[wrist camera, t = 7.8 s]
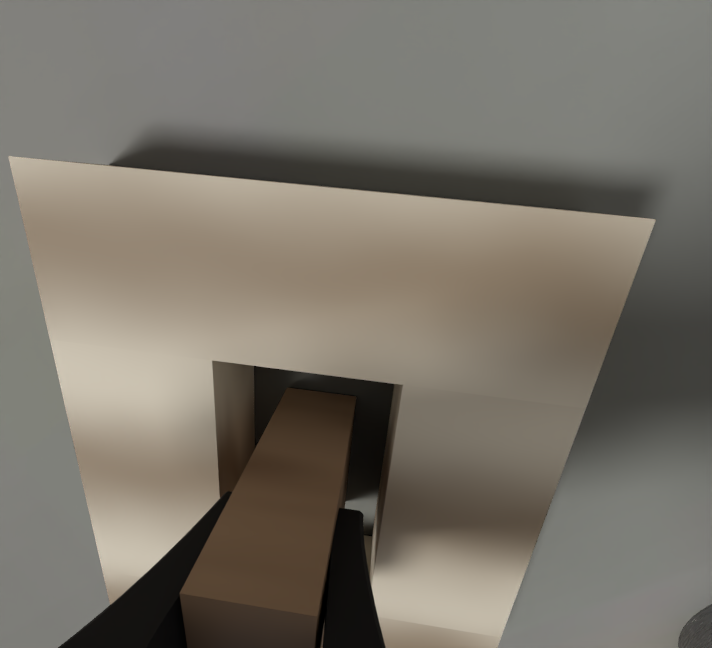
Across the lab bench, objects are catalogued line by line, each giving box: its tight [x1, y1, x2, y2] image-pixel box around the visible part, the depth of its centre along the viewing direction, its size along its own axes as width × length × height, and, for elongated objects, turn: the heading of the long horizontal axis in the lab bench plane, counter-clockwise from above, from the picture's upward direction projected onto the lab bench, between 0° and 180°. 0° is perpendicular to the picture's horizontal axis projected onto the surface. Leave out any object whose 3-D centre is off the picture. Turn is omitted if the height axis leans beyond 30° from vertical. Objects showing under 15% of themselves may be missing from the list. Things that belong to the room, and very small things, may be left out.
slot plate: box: [8, 156, 656, 648], centre depth 12 cm, size 18×14×3 cm
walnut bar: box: [180, 388, 356, 648], centre depth 11 cm, size 5×2×7 cm, turn 175°
